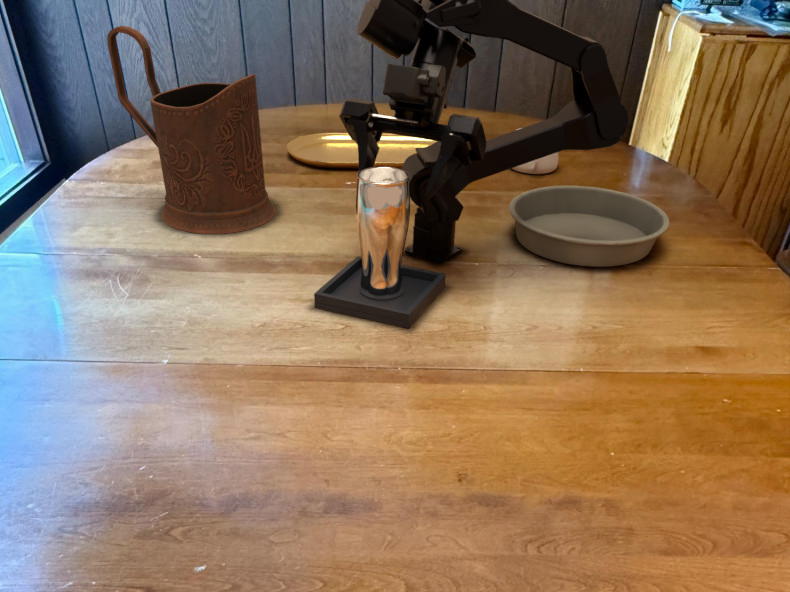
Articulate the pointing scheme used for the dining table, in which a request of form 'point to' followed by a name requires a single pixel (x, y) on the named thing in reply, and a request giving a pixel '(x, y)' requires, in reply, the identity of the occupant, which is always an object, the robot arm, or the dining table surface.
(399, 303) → the serving tray
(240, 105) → the cup holder
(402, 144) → the serving platter
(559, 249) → the cake pan
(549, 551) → the dining table surface
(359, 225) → the beer glass
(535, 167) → the mug
